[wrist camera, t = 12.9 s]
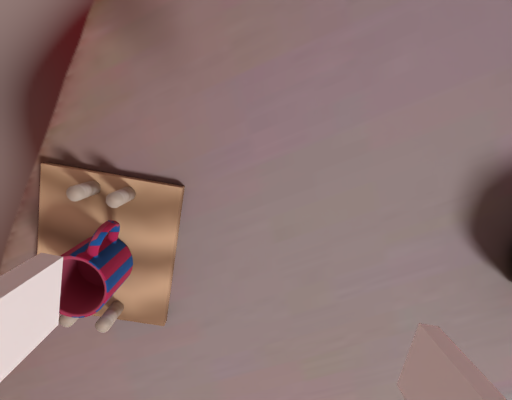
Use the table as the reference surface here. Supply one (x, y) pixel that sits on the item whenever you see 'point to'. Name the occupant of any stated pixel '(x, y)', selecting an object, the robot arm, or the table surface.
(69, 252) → the cup
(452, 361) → the robot arm
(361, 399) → the table surface
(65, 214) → the wooden peg board
